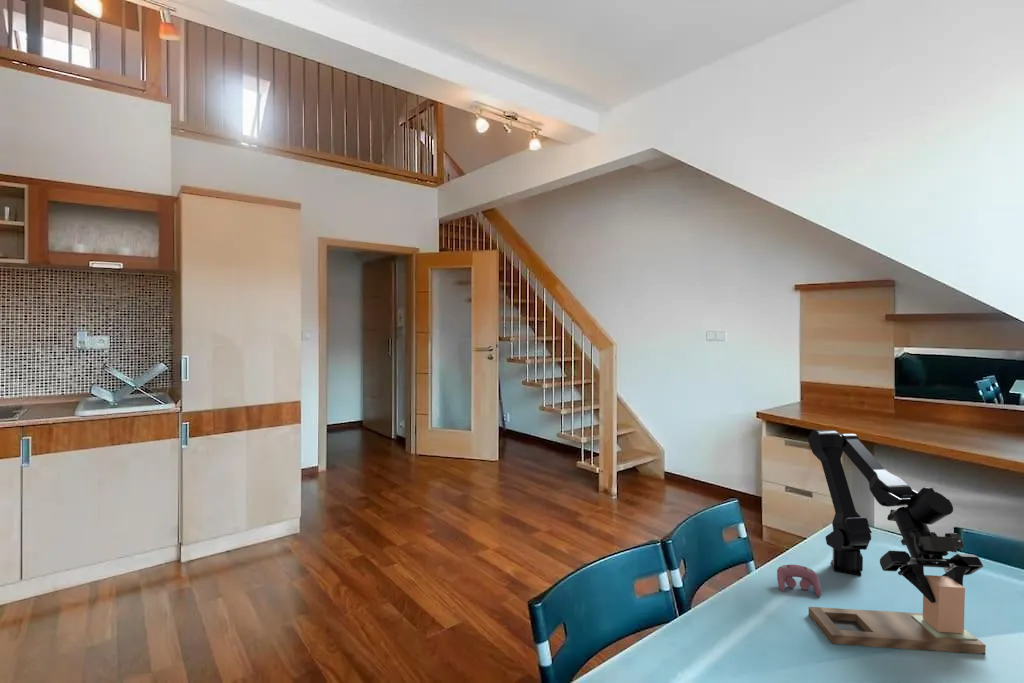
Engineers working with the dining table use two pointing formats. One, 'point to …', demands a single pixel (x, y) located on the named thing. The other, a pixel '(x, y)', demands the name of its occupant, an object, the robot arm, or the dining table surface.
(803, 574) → the video game controller
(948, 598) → the block
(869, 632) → the board
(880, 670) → the dining table surface
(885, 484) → the robot arm
